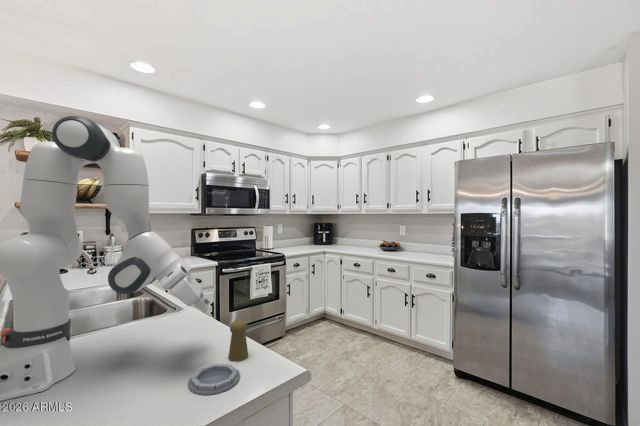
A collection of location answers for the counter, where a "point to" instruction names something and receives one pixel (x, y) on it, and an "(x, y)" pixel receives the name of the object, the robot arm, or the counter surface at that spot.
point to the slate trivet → (214, 379)
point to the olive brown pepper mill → (238, 341)
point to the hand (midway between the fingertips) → (207, 307)
